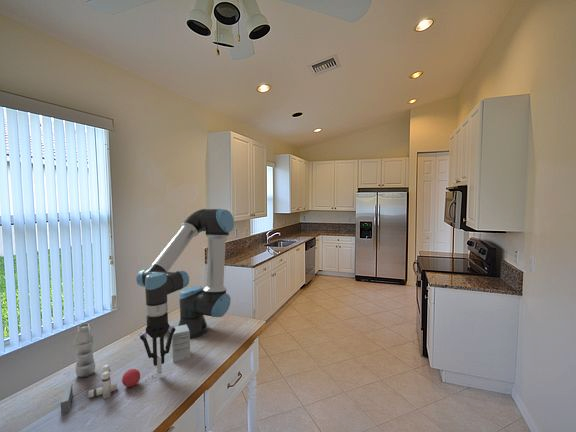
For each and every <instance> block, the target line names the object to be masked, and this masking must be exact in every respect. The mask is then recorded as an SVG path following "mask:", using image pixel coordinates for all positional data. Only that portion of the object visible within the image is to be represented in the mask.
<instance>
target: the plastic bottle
mask: <svg viewBox="0 0 576 432" xmlns="http://www.w3.org/2000/svg"><path fill="white" fill-rule="evenodd" d="M94 338H95V336H94V333H92V332H91V331H90V324H89V323H82V324H79V325H78V326H77V334H76V335H75V337H74V340H73V344H74V348H75V354H76V361H75V362H76V363H75V364H76V365H75V374H76V376H77V377H78V378H84V377H89V376H90V375H92V374H93V373H94V372H95V370H96V367H97V366H96V363H95V362H96V361H95V359H94V353H93V352H94Z"/></svg>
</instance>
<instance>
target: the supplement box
mask: <svg viewBox="0 0 576 432" xmlns="http://www.w3.org/2000/svg"><path fill="white" fill-rule="evenodd" d="M174 327H175V332H174V334H173V336H172V341H171V346H170V355H171V358H172V362H173V363H175V362H180V361H185V360H189V359H191V338H190V331H189V328H188V326H187V325H181V326H178V325H177V326H174Z"/></svg>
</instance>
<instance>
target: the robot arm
mask: <svg viewBox="0 0 576 432" xmlns="http://www.w3.org/2000/svg"><path fill="white" fill-rule="evenodd" d="M234 228H235V219H234V216H233V214H232V212H230V210H228V209H223V208H210V209H209V208H208V209H207V208H202V209H198V210H196V211H194V212H193V213H191V214H190V215H188V216H187V217H186V218H185V219H184V221H182V223H181V224H180V229H179V230H178V231H177V233H175V235H174V236H173V237H172V238H171V240H170V241H169V242H168V244H167V245H166V246H165V248H164V249H163V250H162V251H161V253H160V254H159V255H158V256H157V257H156V258H155V260H154V262H153V263H151V265H150V266H149V267H148V269H147V268H146V269H141V270H140V271H139V272H138V273H137V274H136V277H135V278H136V280H135V281H136V284H137V285H138V286H140V287H142V288H145V290H144V291H145V308H146V310H145V311H146V327H145V331H143V332H142V333H140V334H139V339H140V340H141V341H142V342H143V345H144V348H145V351H146V354H147V356H148V358H149V359H151V358H152V359H153V360H152V362H153V366H154V367H156V374H157V375H161V374H162V373H163V371H162V369H163V368H162V365H163V364H164V363H165V355H167V354H169V353H170V351H171V341H172V336H173V334H174V332H175V327H176V326H171V325H170V324H169V318H168V316H169V314H168V295H170V294H172V293H174V292H177V291H179V290H181V291H180V292H179V322H178V324H177V326H181V325H187V326H188V328H189V331H190V339H194V338H198V337H200V336H203V335H205V334H206V332H207V331H208V324H207V321H206V318H205V316H206V317H207V316H208V317H212V318H221V317H224V316H225V315H226V314H227V312H228V311H229V308H230V306H231V296H230V294H228V293H227V288H226V287H225V285H224V280H225V278H224V277H225V260H226V240H227V238H228V237H229V236H230V233H231V232H233V229H234ZM202 232H205V236H206V237H207V239H208V242H207V261H206V263H207V264H206V282H205V284H206V285H205V286H204V287H203V286H201V285H200V286H198V285H195V286H190V287H187V286H188V285H189V283H190V276H189V273H188V272H187V271H185V270H177V271H173V272H171V271H170V269H171V268H172V267H173V265H174V264H175V262H176V261H177V260H178V259H179V258H180V256H181V255H182V253H183V252H184V250H185V249H186V248H187V246H188V245H189V243H191V241H192V240H193V238H196V237H197V236H198V235H199V234H200V233H202ZM186 287H187V288H186ZM167 332H168V335H167V338H166V344H165V340H164V338H165V337H164V336H165V334H166V333H167ZM148 336H149V337H150V338H151V341H152V351H151V348H150V345H149V342H148V339H147V337H148ZM157 338H159V354H158V346H157V345H158V344H157V342H158V341H157Z"/></svg>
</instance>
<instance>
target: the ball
mask: <svg viewBox="0 0 576 432" xmlns="http://www.w3.org/2000/svg"><path fill="white" fill-rule="evenodd" d="M140 380H141V373H140V371H139V370H138V369H136V368H131V369H128V370H127V371H125V373H123V375H122V378H121V383H122V385H123V386H124V387H126V388H133V387H135V386H137V384H138V383H139V381H140Z"/></svg>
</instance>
